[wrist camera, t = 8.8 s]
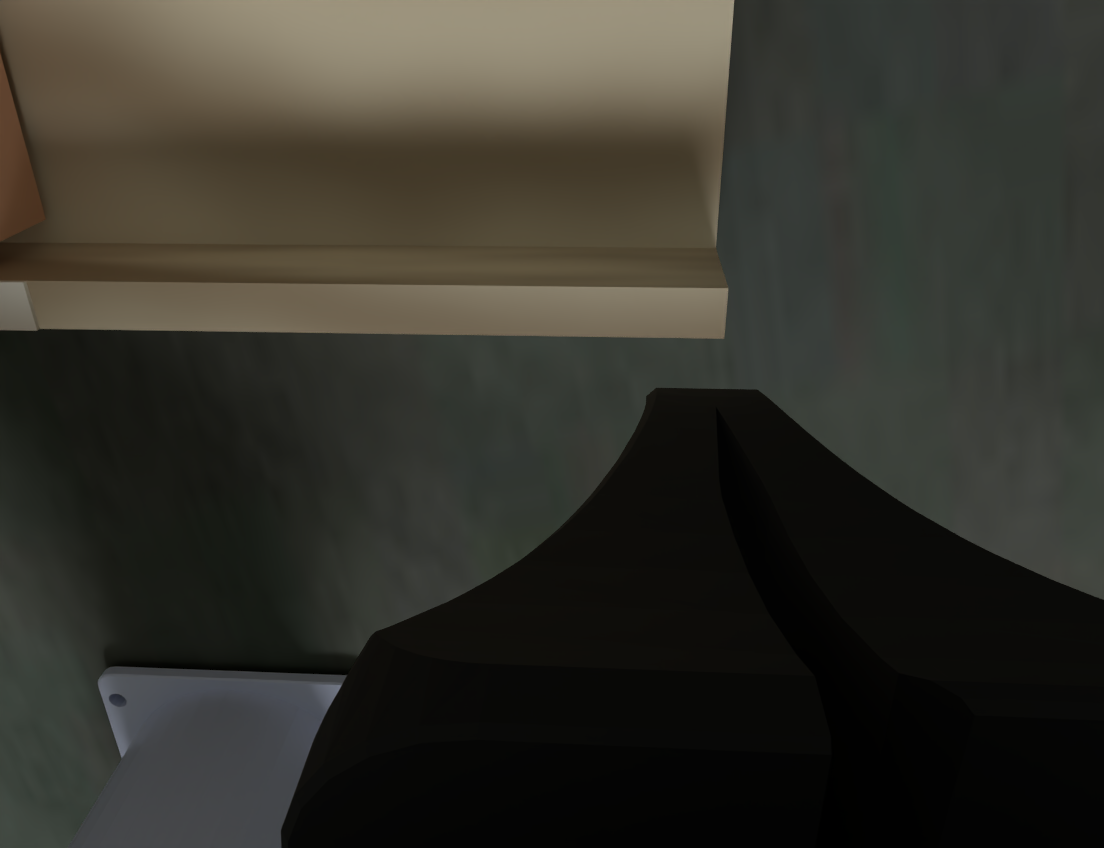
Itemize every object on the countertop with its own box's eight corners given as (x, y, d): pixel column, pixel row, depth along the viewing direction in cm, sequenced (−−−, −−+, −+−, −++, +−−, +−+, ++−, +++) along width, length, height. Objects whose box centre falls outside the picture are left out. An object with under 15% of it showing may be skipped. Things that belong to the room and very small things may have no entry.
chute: (705, 320, 21) (722, 397, 17) (-432, 305, 23) (-627, 372, 19) (742, -208, 16) (777, -249, 13) (-694, -174, 18) (-1016, -203, 14)
